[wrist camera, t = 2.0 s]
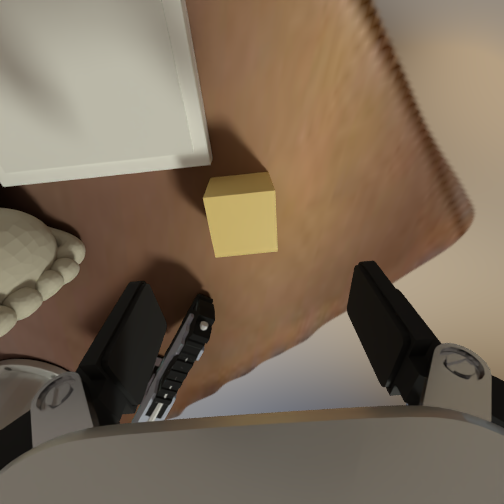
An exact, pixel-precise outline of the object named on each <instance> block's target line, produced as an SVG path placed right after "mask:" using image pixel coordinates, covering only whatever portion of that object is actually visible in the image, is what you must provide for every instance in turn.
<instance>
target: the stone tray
mask: <svg viewBox="0 0 504 504" xmlns="http://www.w3.org/2000/svg"><path fill="white" fill-rule="evenodd" d="M212 160H213V157H212V151H211V145H210V140H209V134H208V128H207V122H206V117H205V111H204V105H203V100H202V94H201V88H200V82H199V77H198V71H197V65H196V59H195V54H194V48H193V42H192V37H191V31H190V25H189V19H188V14H187V8H186V2H185V0H0V183H1V184H2V186H3V187H8V186H17V185H27V184H36V183H45V182H55V181H64V180H73V179H83V178H92V177H101V176H111V175H120V174H129V173H139V172H148V171H158V170H167V169H176V168H186V167H195V166H204V165H210V164H211V162H212Z"/></svg>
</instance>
